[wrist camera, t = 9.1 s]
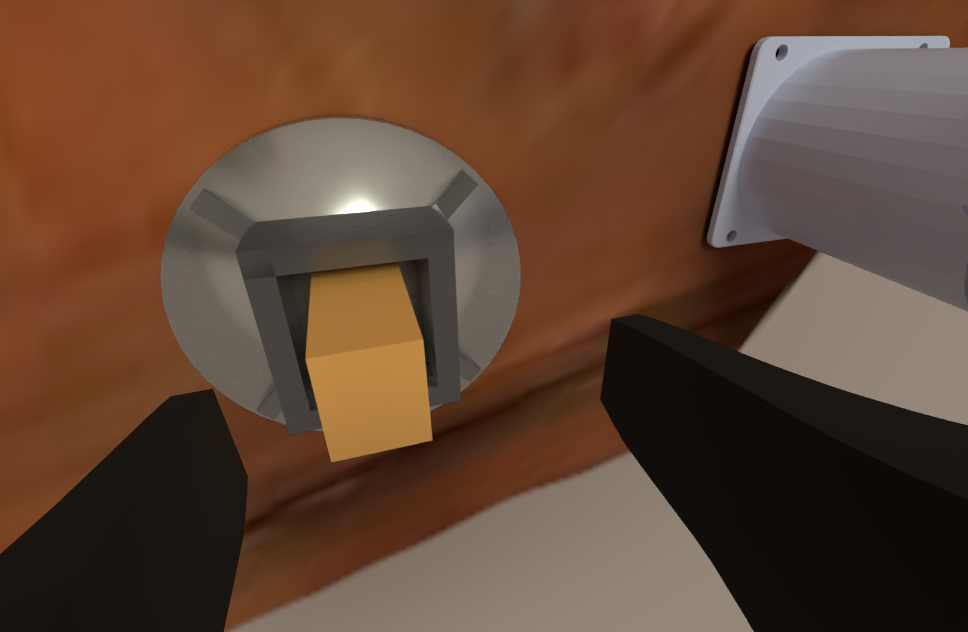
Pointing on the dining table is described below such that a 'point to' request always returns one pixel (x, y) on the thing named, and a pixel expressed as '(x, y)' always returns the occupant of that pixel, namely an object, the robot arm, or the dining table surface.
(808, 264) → the dining table surface
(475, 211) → the square-hole metal disc
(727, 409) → the robot arm
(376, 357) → the orange square peg
